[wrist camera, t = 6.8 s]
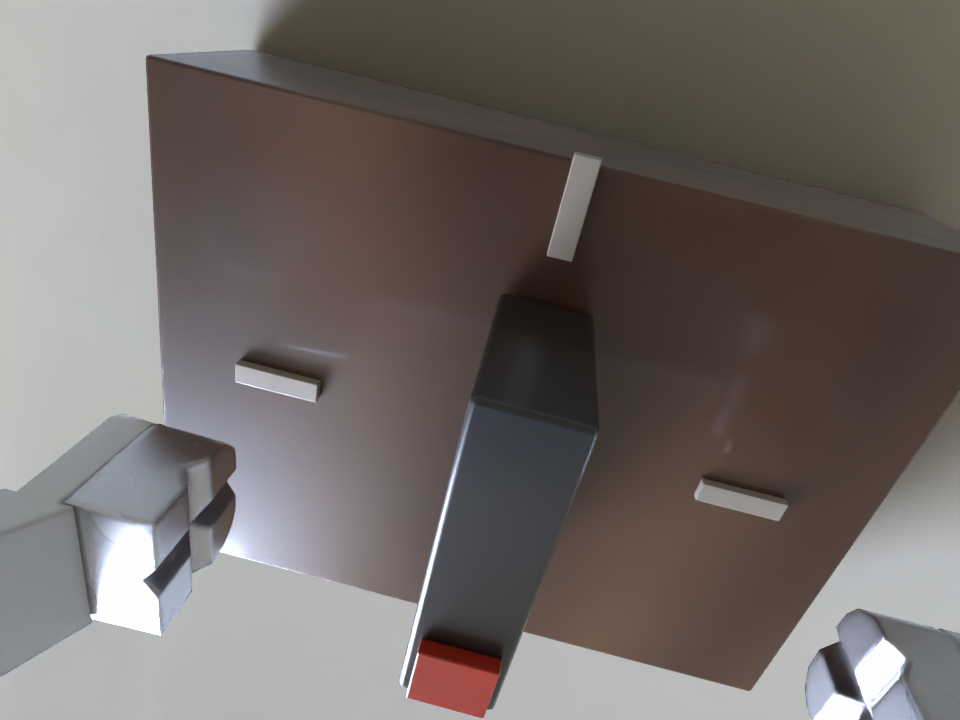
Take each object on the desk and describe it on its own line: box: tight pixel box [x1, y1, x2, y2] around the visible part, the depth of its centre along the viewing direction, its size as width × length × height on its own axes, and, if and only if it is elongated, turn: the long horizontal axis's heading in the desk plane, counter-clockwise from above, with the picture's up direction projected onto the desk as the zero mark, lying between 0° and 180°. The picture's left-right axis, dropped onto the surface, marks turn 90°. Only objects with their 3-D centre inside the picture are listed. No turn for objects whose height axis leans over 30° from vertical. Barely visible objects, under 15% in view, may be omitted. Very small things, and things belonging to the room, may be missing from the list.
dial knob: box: [399, 294, 600, 718], centre depth 9 cm, size 5×1×3 cm, turn 168°
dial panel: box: [146, 50, 960, 691], centre depth 11 cm, size 12×9×3 cm
